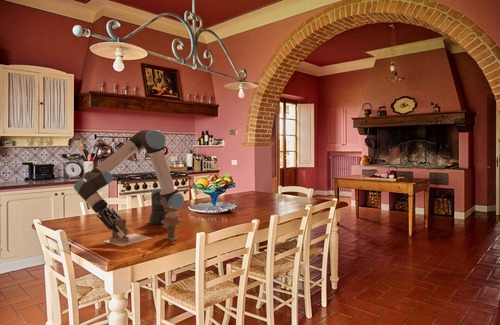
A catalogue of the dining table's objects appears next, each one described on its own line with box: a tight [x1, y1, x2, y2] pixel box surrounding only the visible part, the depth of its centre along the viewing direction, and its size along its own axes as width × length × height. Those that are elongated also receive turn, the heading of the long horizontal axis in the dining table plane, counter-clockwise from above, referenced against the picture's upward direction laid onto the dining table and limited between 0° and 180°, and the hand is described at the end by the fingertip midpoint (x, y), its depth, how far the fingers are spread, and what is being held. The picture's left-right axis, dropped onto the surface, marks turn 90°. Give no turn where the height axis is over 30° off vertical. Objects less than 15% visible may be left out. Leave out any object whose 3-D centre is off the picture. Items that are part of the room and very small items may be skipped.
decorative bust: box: [160, 198, 183, 242], centre depth 195 cm, size 11×13×25 cm
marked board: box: [103, 233, 152, 247], centre depth 190 cm, size 20×16×1 cm
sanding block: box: [108, 218, 129, 243], centre depth 186 cm, size 4×9×12 cm, turn 81°
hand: (126, 234), depth 185 cm, fingers open, 5 cm apart
